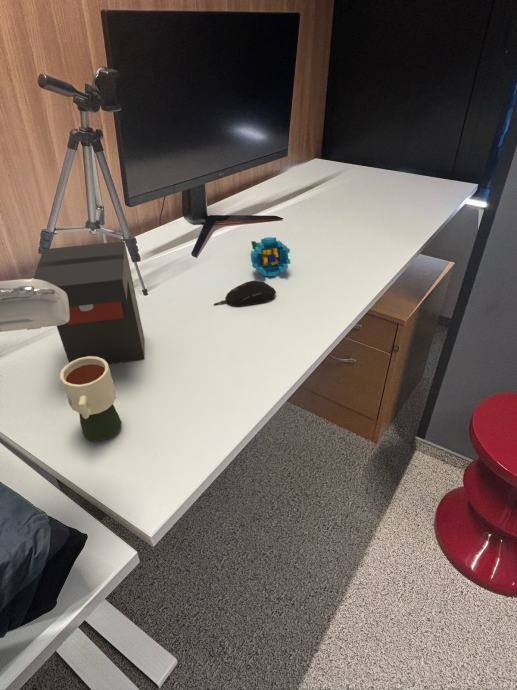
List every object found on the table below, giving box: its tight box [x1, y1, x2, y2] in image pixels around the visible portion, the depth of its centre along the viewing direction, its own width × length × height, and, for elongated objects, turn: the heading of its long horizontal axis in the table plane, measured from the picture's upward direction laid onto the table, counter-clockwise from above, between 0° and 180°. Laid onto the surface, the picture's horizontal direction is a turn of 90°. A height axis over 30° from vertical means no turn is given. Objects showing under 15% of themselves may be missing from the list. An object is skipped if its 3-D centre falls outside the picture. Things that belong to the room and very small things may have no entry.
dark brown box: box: [32, 240, 146, 365], centre depth 87 cm, size 14×14×22 cm
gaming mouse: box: [213, 280, 277, 307], centre depth 110 cm, size 6×15×4 cm, turn 108°
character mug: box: [59, 356, 122, 442], centre depth 76 cm, size 11×7×13 cm, turn 6°
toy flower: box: [250, 236, 291, 277], centre depth 123 cm, size 9×9×18 cm
